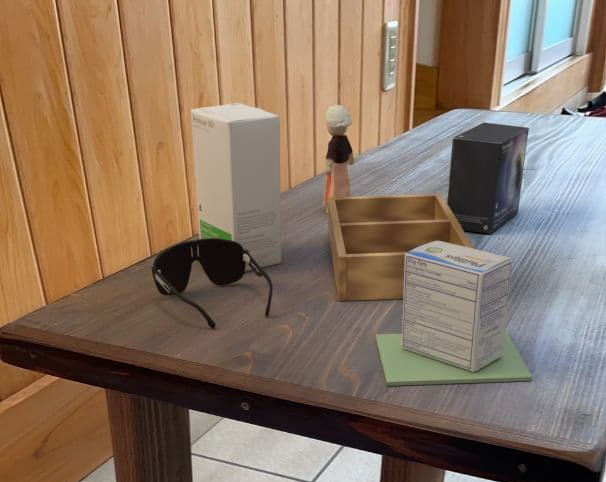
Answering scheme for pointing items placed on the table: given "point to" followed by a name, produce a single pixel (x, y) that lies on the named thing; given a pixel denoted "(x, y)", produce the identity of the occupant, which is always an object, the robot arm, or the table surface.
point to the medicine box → (455, 304)
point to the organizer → (384, 240)
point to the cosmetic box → (239, 178)
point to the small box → (486, 175)
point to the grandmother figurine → (337, 154)
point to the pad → (445, 366)
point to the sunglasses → (204, 267)
